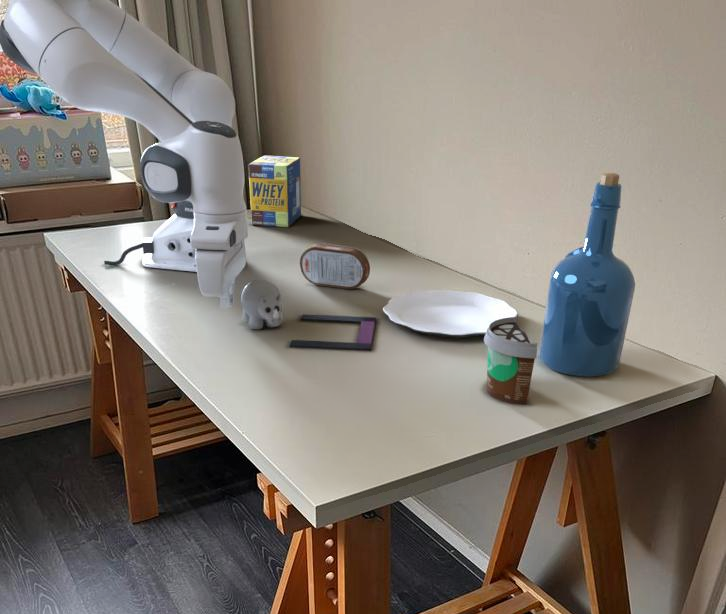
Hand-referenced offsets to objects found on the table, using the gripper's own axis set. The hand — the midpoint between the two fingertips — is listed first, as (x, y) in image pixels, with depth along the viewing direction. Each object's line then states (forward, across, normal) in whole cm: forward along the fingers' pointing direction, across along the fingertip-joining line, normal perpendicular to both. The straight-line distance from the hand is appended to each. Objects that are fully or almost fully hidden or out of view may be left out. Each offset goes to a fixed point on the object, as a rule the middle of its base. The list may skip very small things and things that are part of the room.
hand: (227, 305), depth 139 cm
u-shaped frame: (+4, 0, +19) cm, 20 cm away
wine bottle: (+4, +9, +61) cm, 62 cm away
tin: (+4, -28, +16) cm, 32 cm away
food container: (+4, +22, +48) cm, 53 cm away
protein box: (+4, -86, -6) cm, 86 cm away
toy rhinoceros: (+4, 0, +7) cm, 8 cm away
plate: (+4, -10, +40) cm, 42 cm away
